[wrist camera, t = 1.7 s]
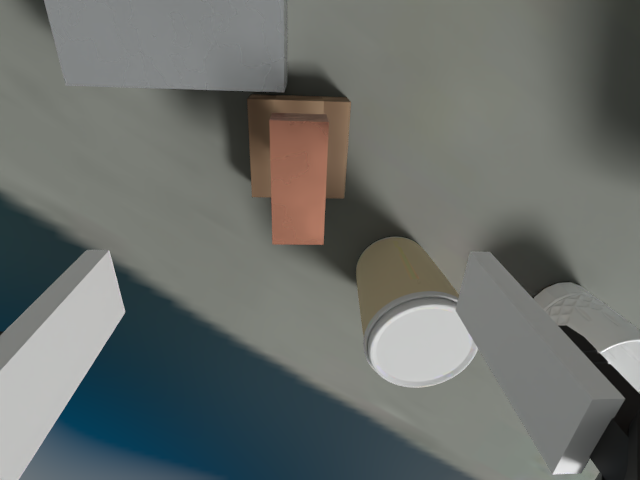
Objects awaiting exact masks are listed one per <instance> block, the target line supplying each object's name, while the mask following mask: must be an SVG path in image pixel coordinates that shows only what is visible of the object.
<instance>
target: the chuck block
mask: <svg viewBox="0 0 640 480" xmlns="http://www.w3.org/2000/svg"><path fill="white" fill-rule="evenodd" d="M44 3H45V7H46V10H47V14H48V18H49V22H50V26H51V30H52V34H53V38H54V42H55V45H56V49H57V53H58V57H59V61H60V65H61V69H62V73H63V77H64V81H65V84H66V85H70V86H101V87H132V88H163V89H194V90H225V91H257V92H285V89H286V86H287V0H44Z"/></svg>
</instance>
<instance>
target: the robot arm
mask: <svg viewBox="0 0 640 480" xmlns="http://www.w3.org/2000/svg"><path fill="white" fill-rule="evenodd" d="M455 311H456V312H457V314H458V316H459V317H460V319H461V321H462V322H463V324H464V326H465V327H466V329H467V331H468V333H469V334H470V336H471V338H472V339H473V341H474V343H475V344H476V346H477V348H478V349H479V351H480V353H481V354H482V356H483V358H484V360H485V361H486V363H487V365H488V366H489V368H490V370H491V371H492V373H493V375H494V376H495V378H496V380H497V382H498V383H499V385H500V387H501V388H502V390H503V392H504V393H505V395H506V397H507V398H508V400H509V402H510V403H511V405H512V407H513V409H514V410H515V412H516V414H517V415H518V417H519V419H520V420H521V422H522V424H523V425H524V427H525V429H526V430H527V432H528V434H529V436H530V437H531V439H532V441H533V442H534V444H535V446H536V447H537V449H538V451H539V452H540V454H541V456H542V458H543V459H544V461H545V463H546V464H547V466H548V468H549V469H550V471H551V473H552V474H576V473H582V471H583V469H584V468H585V466H586V464H587V463H588V461H589V459H590V458H591V460H592V461H593V463H594V464H595V466H596V467H597V468H598V470H599V471H600V473H599V474H598V476H597V478H596V479H595V480H640V394H639V393H638V392H637V390H636V389H635V388H634V387H633V386H632V385H631V384H630V383H629V382H628V381H627V380H626V379H625V378H624V377H623V376H622V375H621V374H620V373H619V372H618V371H617V370H616V369H615V368H614V367H613V366H612V365H611V364H608V361H607V360H606V359H605V358H604V357H603V356H602V355H601V354H600V353H598V352H597V350H596V348H595V347H594V346H593V345H592V344H591V343H590V342H589V341H588V340H587V339H586V338H585V337H584V336H582V335H581V334H579V333H577V332H576V331H574V330H573V329H571V328H570V327H568V326H567V325H557V324H556V323H555V322H554V321H553V320H552V319H551V318H550V316H549V315H548V314H547V313H546V312H545V311H544V310H543V309H542V308H541V307H540V306H539V305H538V303H537V302H536V301H535V300H534V299H533V298H532V297H531V296H530V295H529V294H528V293H527V291H526V290H525V289H524V288H523V287H522V286H521V285H520V284H519V283H518V282H517V281H516V280H515V278H514V277H513V276H512V275H511V274H510V273H509V272H508V271H507V270H506V269H505V268H504V267H503V265H502V264H501V263H500V262H499V261H498V260H497V259H496V258H495V257H494V256H493V255H492V254H491V252H470V254H469V258H468V262H467V266H466V270H465V274H464V278H463V282H462V286H461V290H460V294H459V298H458V302H457V306H456V310H455ZM124 313H125V309H124V306H123V302H122V298H121V294H120V290H119V286H118V282H117V278H116V274H115V270H114V266H113V262H112V258H111V255H110V251H109V250H86V251H85V252H84V253H83V254H82V255H81V256H80V257H79V258H78V259H77V260H76V261H75V262H74V263H73V264H72V265H71V266H70V267H69V268H68V269H67V270H66V271H65V272H64V273H63V274H62V275H61V276H60V277H59V278H58V279H57V280H56V281H55V282H54V283H53V284H52V285H51V286H50V287H49V288H48V289H47V290H46V291H45V292H44V293H43V294H42V295H41V296H40V297H39V298H38V299H37V300H36V301H35V302H34V303H33V304H32V305H31V306H30V307H29V308H28V309H27V310H26V311H25V312H24V313H23V314H22V315H21V316H20V317H19V318H18V319H17V320H15V321H14V323H12V325H10V326H9V327H8V328H7V329H6V330H5V331H4V332H0V480H19V478H20V477H21V475H22V474H23V472H24V470H25V469H26V467H27V466H28V464H29V462H30V461H31V459H32V458H33V456H34V454H35V453H36V451H37V450H38V448H39V447H40V445H41V444H42V442H43V440H44V439H45V437H46V436H47V434H48V433H49V431H50V430H51V428H52V426H53V425H54V423H55V422H56V420H57V418H58V417H59V415H60V414H61V412H62V411H63V409H64V408H65V406H66V404H67V403H68V401H69V400H70V398H71V397H72V395H73V393H74V392H75V390H76V389H77V387H78V386H79V384H80V382H81V381H82V379H83V378H84V376H85V375H86V373H87V371H88V370H89V368H90V367H91V365H92V364H93V362H94V360H95V359H96V357H97V356H98V354H99V353H100V351H101V349H102V348H103V346H104V345H105V343H106V341H107V340H108V338H109V337H110V335H111V334H112V332H113V331H114V329H115V327H116V326H117V324H118V323H119V321H120V319H121V318H122V316H123V315H124Z"/></svg>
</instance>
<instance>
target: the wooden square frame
mask: <svg viewBox="0 0 640 480" xmlns="http://www.w3.org/2000/svg"><path fill="white" fill-rule="evenodd" d="M247 106H248V126H249V146H250V165H251V185H252V197H271V165H270V126H269V120H270V117H271V115H272V113H300V114H326V115H327V118H328V120H329V134H328V156H327V178H326V198H343V199H344V194H345V180H346V165H347V151H348V137H349V122H350V108H351V102H350V101H349V99H348V98H347V97H322V96H291V95H259V94H251V95H250V96H249V98H248V99H247Z"/></svg>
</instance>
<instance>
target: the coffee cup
mask: <svg viewBox="0 0 640 480" xmlns="http://www.w3.org/2000/svg"><path fill="white" fill-rule="evenodd" d="M356 278H357V288H358V296H359V305H360V313H361V321H362V328H363V335H364V340H363V345H364V353H365V356H366V359H367V361H368V363H369V364H370V366H371V367H372V368H373V369H374V370H375V371H376V372H377V373H378V374H379V375H380V376H381V377H382V378H384V379H385V380H387V381H389V382H391V383H393V384H396V385H399V386H404V387H427V386H432V385H436V384H439V383H442V382H444V381H447V380H449V379H451V378H453V377H454V376H456V375H457V374H459V373H460V372H461V371H463V370H464V369H465V368H466V367H467V366H468V365H469V363H470V362H471V361H472V360H473V358H474V356H475V355H476V352H477V350H478V348H477V346H476V344H475V343H474V341H473V339H472V338H471V336H470V334H469V333H468V331H467V329H466V327H465V326H464V324H463V322H462V321H461V319H460V317H459V316H458V314H457V312H456V311H455V310H456V306H457V302H458V298H459V294H458V293H457V292H456V290H455V289H454V288H453V286H452V285H451V284H450V282H449V281H448V280H447V279H446V277H445V276H444V275H443V273H442V272H441V271H440V270H439V268H438V267H437V266H436V264H435V263H434V262H433V261H432V259H431V258H430V257H429V255H428V254H427V253H426V252H425V251H424V250H423V248H422V247H421V246H420V245H419V244H417V243H416V242H414V241H412V240H410V239H407V238H404V237H387V238H383V239H380V240H378V241H376V242H374V243H373V244H371V245H370V246H369V247H367V248H366V250H365V251H364V252H363V253H362V255H361V256H360V258H359V260H358V263H357V267H356Z"/></svg>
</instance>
